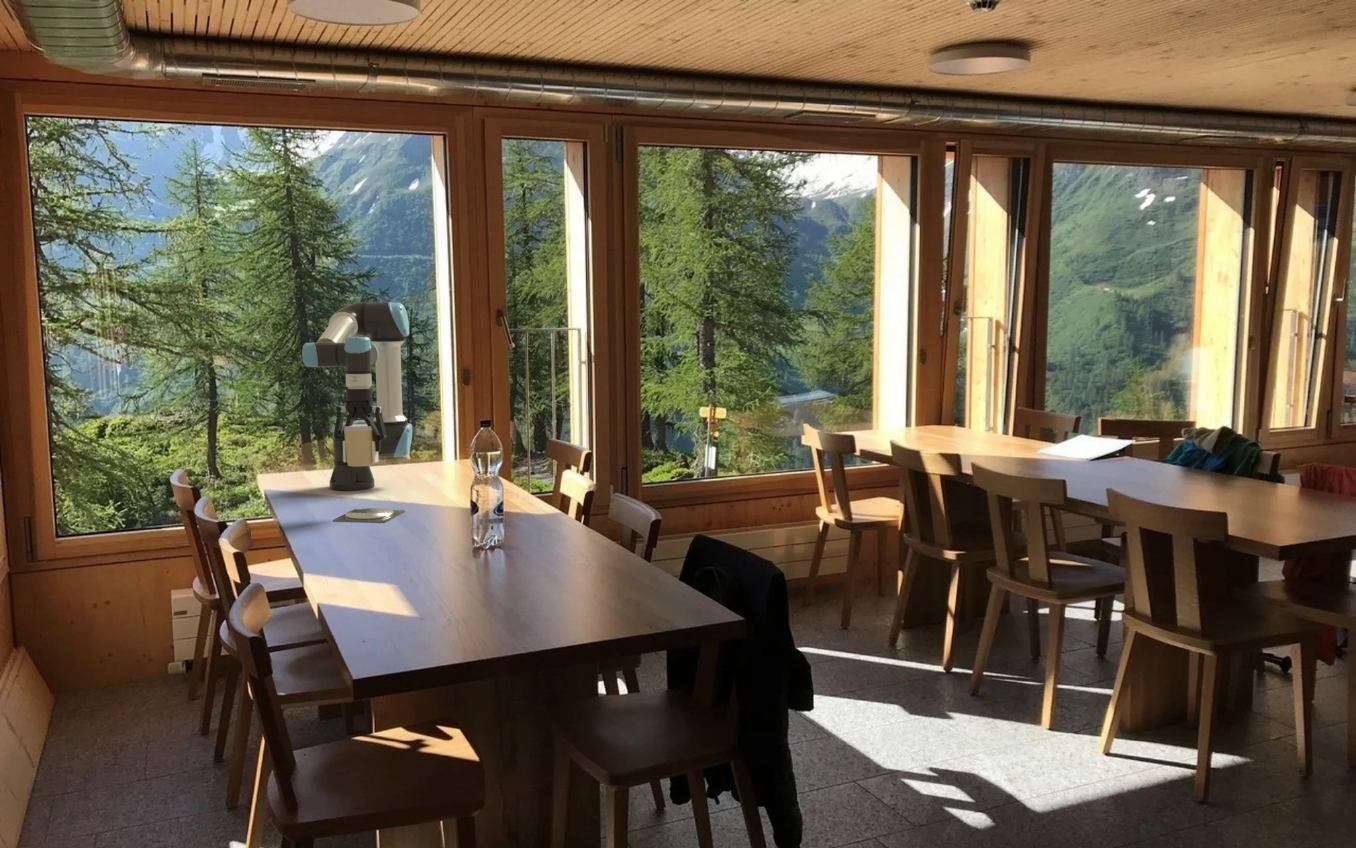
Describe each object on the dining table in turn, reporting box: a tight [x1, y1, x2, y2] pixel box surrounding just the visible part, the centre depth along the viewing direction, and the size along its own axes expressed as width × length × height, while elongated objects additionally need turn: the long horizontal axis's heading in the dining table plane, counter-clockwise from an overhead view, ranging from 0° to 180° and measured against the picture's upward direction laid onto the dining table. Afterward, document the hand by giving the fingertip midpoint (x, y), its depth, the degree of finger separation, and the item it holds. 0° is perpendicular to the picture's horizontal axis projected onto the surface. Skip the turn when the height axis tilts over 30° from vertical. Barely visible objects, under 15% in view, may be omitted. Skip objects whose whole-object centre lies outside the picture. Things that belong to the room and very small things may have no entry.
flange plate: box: [332, 507, 406, 524], centre depth 319 cm, size 16×16×1 cm
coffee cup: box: [344, 424, 375, 467], centre depth 318 cm, size 9×9×12 cm
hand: (360, 461), depth 319 cm, fingers closed on coffee cup, 9 cm apart
